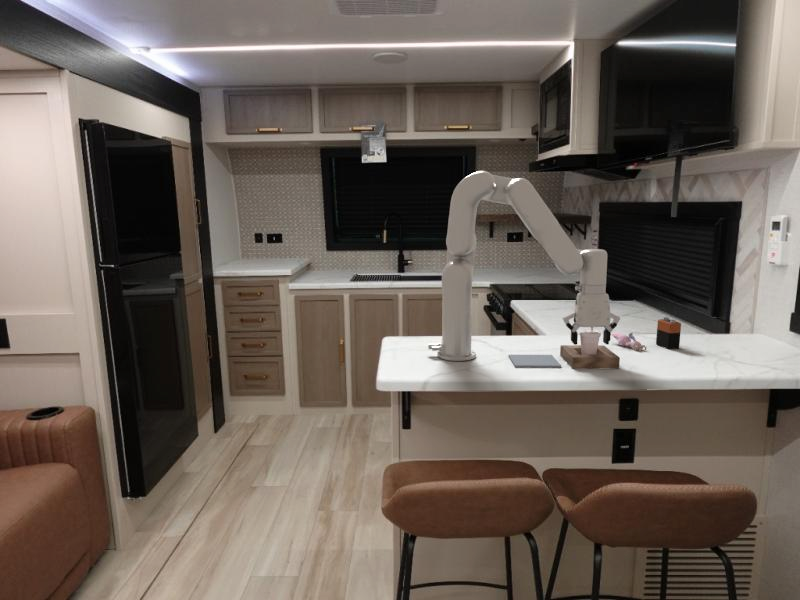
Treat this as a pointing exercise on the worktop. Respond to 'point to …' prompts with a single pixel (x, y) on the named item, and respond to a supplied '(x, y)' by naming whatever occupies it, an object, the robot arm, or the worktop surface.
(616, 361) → the walnut frame
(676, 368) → the worktop surface
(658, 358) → the worktop surface
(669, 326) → the battery
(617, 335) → the rabbit figure
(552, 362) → the slate mat
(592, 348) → the smoothie
